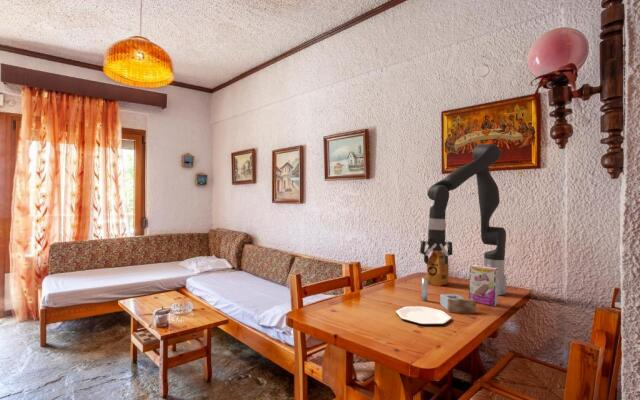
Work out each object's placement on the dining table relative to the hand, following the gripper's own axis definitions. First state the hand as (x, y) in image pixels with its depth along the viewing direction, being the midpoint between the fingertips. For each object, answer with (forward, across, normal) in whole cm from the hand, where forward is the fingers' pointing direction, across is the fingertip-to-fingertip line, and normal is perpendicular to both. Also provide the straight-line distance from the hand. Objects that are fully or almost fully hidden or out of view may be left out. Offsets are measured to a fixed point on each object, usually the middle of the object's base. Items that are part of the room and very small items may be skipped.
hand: (435, 263), depth 157 cm
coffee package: (+16, +14, +32) cm, 39 cm away
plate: (+18, -13, -21) cm, 31 cm away
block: (+17, +4, -10) cm, 20 cm away
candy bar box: (+17, +21, -3) cm, 27 cm away
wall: (+17, +6, -15) cm, 23 cm away
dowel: (+17, -5, 0) cm, 18 cm away
